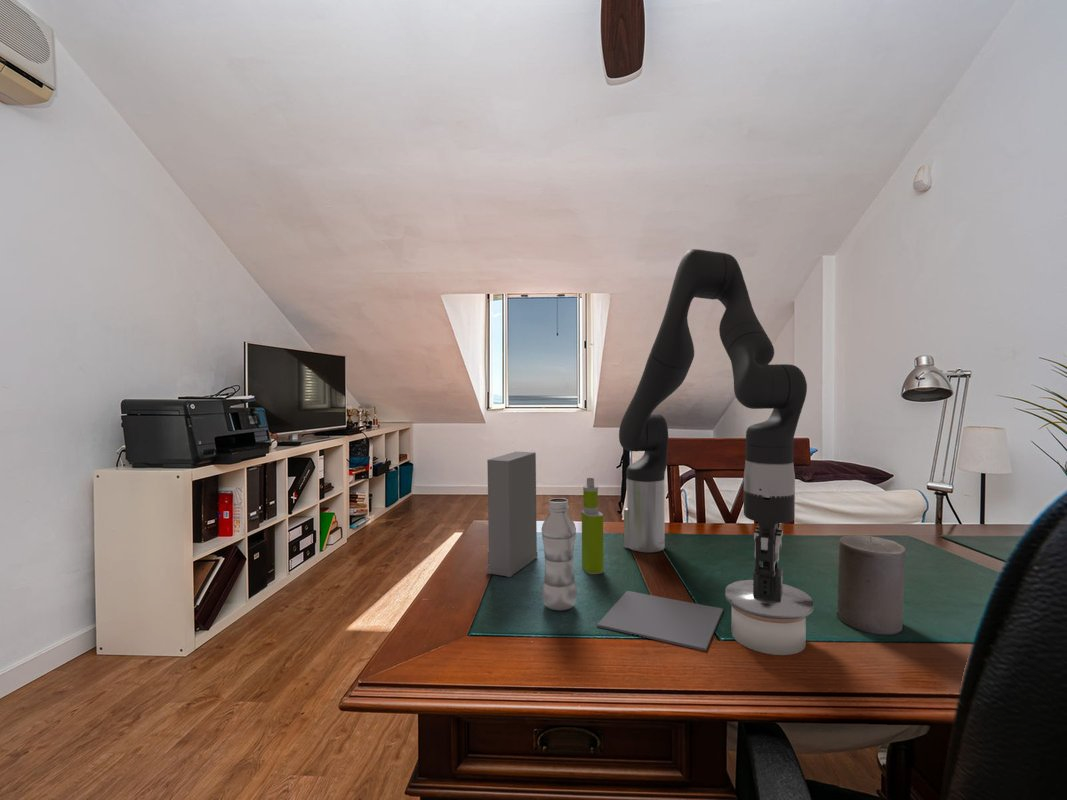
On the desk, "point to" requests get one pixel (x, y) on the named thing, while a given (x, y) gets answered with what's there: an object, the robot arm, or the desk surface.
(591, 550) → the vape
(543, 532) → the plastic bottle
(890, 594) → the pillar candle
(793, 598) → the lid
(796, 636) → the dish
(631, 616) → the mat
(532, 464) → the upright grey slab box
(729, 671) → the desk surface
